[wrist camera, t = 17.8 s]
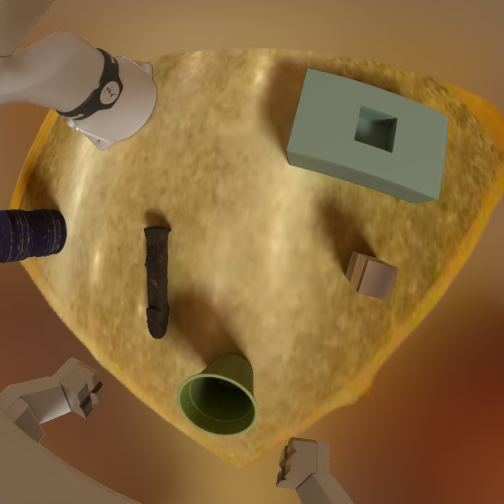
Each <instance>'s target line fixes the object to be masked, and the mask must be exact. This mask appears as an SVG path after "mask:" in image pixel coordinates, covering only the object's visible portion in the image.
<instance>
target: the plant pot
mask: <svg viewBox="0 0 504 504" xmlns="http://www.w3.org/2000/svg"><path fill="white" fill-rule="evenodd" d="M230 383H233V384H235V385H231V384H230ZM177 404H178V407H179V410H180V412H181V413H182V415H183V416H184V418H185V419H186V420H187V421H188V422H189V423H190V424H191V425H193V426H194V427H196V428H197V429H199V430H201V431H203V432H205V433H207V434H211V435H215V436H220V437H232V436H238V435H241V434H243V433H245V432H247V431H249V430H250V429H251V428H252V427H253V426H254V425H255V423H256V421H257V419H258V412H259V411H258V406H257V402H256V400H255V398H254V394H253V369H252V367H251V365H250V363H249V362H248V361H247V360H245V359H244V358H242V357H241V356H239V355H236V354H224V355H221V356H219V357H218V358H216V359H215V360H214V361H213V362H212V363H211V364H210V365H209V366H208V367H206V368H205V369H204V370H203V371H202V372H201V373H199V374H197V375H194V376H191V377H189V378H187V379H186V380H185V381H184V382H183V383H182V384H181V385H180V387H179V389H178V391H177Z"/></svg>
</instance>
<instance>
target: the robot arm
mask: <svg viewBox="0 0 504 504" xmlns="http://www.w3.org/2000/svg"><path fill="white" fill-rule="evenodd" d="M55 1H56V0H0V105H3V104H8V103H14V102H29V103H33V104H38V105H42V106H45V107H49V108H51V109H54V110H56V111H57V113H59V114H60V115H62V116H64V117H66V118H69V120H68V122H67V125H69V126H70V127H72V128H74V129H75V130H77V131H81V132H82V133H83V134H84V135H85V136H86V137H87V138H88V139H89V140H90V141H91V142H92V143H93V144H94V145H95V146H96V147H97V148H98V149H100V150H105V149H107V148H108V147H109V146H111V145H112V144H113V143H114V142H117V141H120V140H123V139H126V138H128V137H130V136H131V135H133V134H134V133H136V132H137V131H138V130H139V129H140V128H141V127H142V126H143V125H144V124H145V122H146V121H147V120H148V118H149V116H150V115H151V113H152V111H153V108H154V105H155V102H156V94H157V93H156V86H155V83H154V81H153V79H152V71H153V69H152V66H151V65H150V64H148V63H135V62H133V61H132V60H130V59H129V58H128V57H126V56H122V57H119V56H118V57H112V56H111V54H109V53H107V52H106V51H103V50H102V49H99V48H95V47H93V46H92V45H90V44H89V43H88V42H86V41H85V40H83V39H82V38H80V37H79V36H77V35H76V34H74V33H72V32H57V33H53V34H50V35H48V36H46V37H44V38H42V39H41V40H39V41H38V42H36V43H34V44H32V45H30V46H28V47H25V48H21V49H17V47H18V46H19V45H20V43H21V42H22V41H23V39H24V38H25V37H26V36H27V34H28V33H29V32H30V31H31V29H32V28H33V27H34V26H35V25H36V24H37V22H38V21H39V20H40V19H41V18H42V17H43V16H44V14H45V13H46V12H47V11H48V10H49V9H50V7H51V6H52V5H53V3H54V2H55ZM99 141H100V142H99ZM101 378H102V376H101V373H100V372H98V371H96V370H94V369H92V368H90V367H89V366H87V365H85V364H83V363H82V362H80V361H78V360H77V359H75V358H70V359H69V360H68V361H67V362H66V363H65V364H64V365H63V366H62V367H61V368H60V369H59V370H58V371H57V372H56V373H55V374H54V375H53V376H52V377H51V378H50V377H44V378H40V379H35V380H31V381H27V382H23V383H18V384H14V385H9V386H8V387H6V388H5V389H4V390H3V391H2V392H1V393H0V504H141V503H139V502H136V501H134V500H132V499H130V498H128V497H126V496H123V495H121V494H119V493H117V492H115V491H113V490H111V489H109V488H107V487H106V486H104V485H101V484H100V483H98V482H96V481H95V480H93V479H91V478H89V477H88V476H86V475H84V474H83V473H81V472H79V471H78V470H76V469H75V468H73V467H71V466H70V465H68V464H67V463H65V462H64V461H62V460H60V459H59V458H58V457H57V456H55V455H54V454H52V453H51V452H49V451H48V450H47V449H46V448H44V447H43V446H42V445H40V444H39V442H40V440H41V439H42V438H43V436H44V435H45V434H44V431H43V429H42V428H41V426H40V424H41V423H43V422H46V421H48V420H51V419H53V418H56V417H58V416H61V415H63V414H65V413H68V412H70V411H71V410H72V411H73V412H75V413H77V414H78V415H80V416H82V417H84V418H85V419H86V418H87V417H88V415H89V414H90V413H91V412H92V410H93V404H95V403H98V402H99V401H100V400H101V398H102V396H103V393H104V386H103V384H102V382H101V381H100V380H101ZM329 462H330V461H329V443H328V442H324V441H316V440H309V439H302V438H295V437H292V438H290V440H289V442H288V445H287V446H285V447H284V449H283V451H282V453H281V456H280V461H279V466H280V467H281V470H280V471H279V473H278V475H277V483H276V486H277V487H283V488H289V489H296V492H297V494H298V496H299V498H300V500H301V502H302V504H354V503H353V502H352V501H351V499H349V497H348V495H347V494H346V493H345V491H344V490H343V489H342V487H341V486H340V485H339V483H338V482H337V480H336V479H335V478H334V476H332V475H330V463H329Z"/></svg>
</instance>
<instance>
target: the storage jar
mask: <svg viewBox="0 0 504 504" xmlns="http://www.w3.org/2000/svg"><path fill="white" fill-rule="evenodd" d="M66 236H67V229H66V223H65V220H64V217H63V216H62V214H61V213H60V212H59V211H57V210H48V209H40V210H33V211H24V210H21V209H18V210H16V209H13V210H0V262H1V263H6V262H15V261H19V260H20V261H21V260H24V259H26V258H28V257H34V256H35V257H41V256H49V255H52V254H57V253H59V252H60V251H61V250H62V249H63V247H64V245H65V242H66Z"/></svg>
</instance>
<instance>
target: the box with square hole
mask: <svg viewBox="0 0 504 504" xmlns="http://www.w3.org/2000/svg"><path fill="white" fill-rule="evenodd" d="M447 130H448V117H447V116H445V115H443V114H441V113H439V112H437V111H435V110H433V109H430V108H428V107H426V106H424V105H421V104H419V103H417V102H414V101H412V100H410V99H407V98H405V97H402V96H400V95H397V94H394V93H392V92H389V91H386V90H383V89H381V88H378V87H375V86H372V85H369V84H366V83H362V82H359V81H356V80H352V79H349V78H345V77H342V76H338V75H334V74H330V73H326V72H322V71H318V70H314V69H309V68H307V72H306V76H305V80H304V84H303V88H302V92H301V96H300V100H299V104H298V108H297V112H296V115H295V119H294V123H293V127H292V131H291V135H290V139H289V143H288V147H287V155H288V160H289V165H292V166H296V167H300V168H303V169H307V170H311V171H315V172H318V173H322V174H325V175H329V176H332V177H336V178H339V179H342V180H346V181H349V182H352V183H355V184H358V185H362V186H365V187H368V188H371V189H374V190H377V191H380V192H383V193H385V194H388V195H391V196H394V197H397V198H400V199H402V200H405V201H408V202H410V203H418V202H426V201H433V200H438V199H439V193H440V187H441V181H442V175H443V168H444V160H445V152H446V142H447Z"/></svg>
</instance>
